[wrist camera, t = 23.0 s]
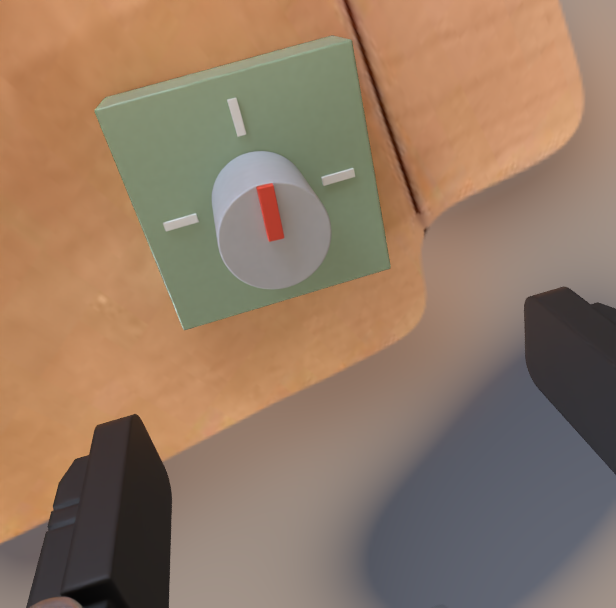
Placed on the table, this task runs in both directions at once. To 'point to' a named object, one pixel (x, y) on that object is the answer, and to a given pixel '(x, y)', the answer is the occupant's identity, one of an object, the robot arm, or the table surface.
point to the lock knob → (269, 221)
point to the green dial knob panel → (237, 141)
